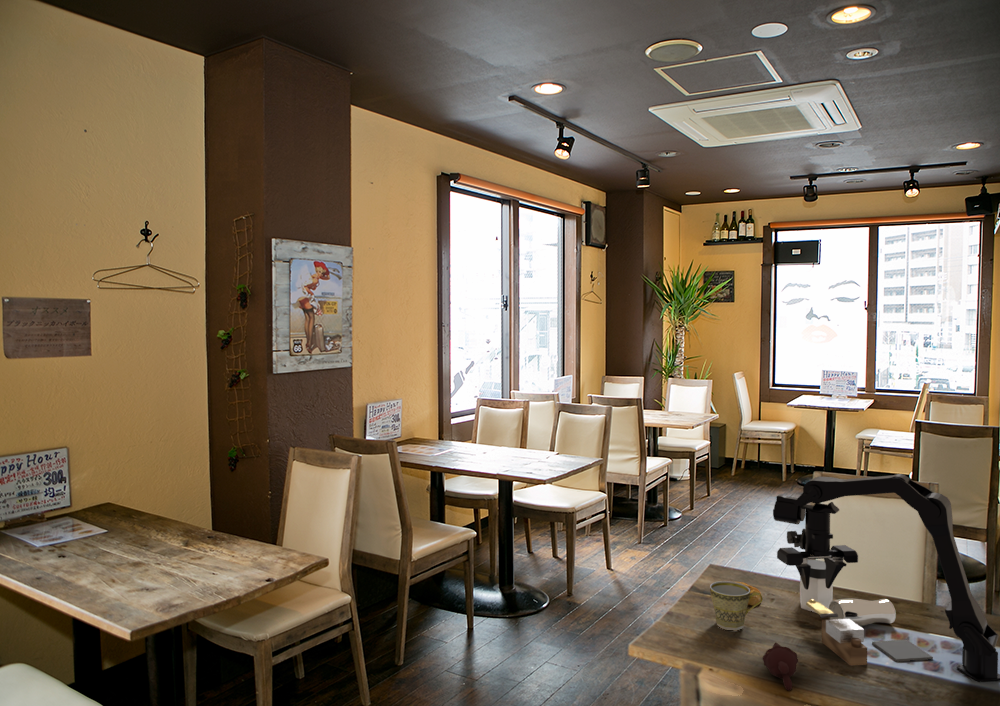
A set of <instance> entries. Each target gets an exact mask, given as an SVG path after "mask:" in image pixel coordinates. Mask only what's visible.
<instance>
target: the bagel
mask: <svg viewBox="0 0 1000 706" xmlns="http://www.w3.org/2000/svg"><path fill="white" fill-rule="evenodd" d="M735 582H736V583H740V584H743V585H745V586H747V587H748V588H749V589H750V594H751V593H753V592H758V593H760V594H761V596H762V597H763V595H762V592H761V591H760V590H759V589H758V588H757V587H753V586H752V585H750V584H747V583H746V582H743V581H741V582H740V581H735ZM760 600H761V597H760V596H759V595H754V596H752V597H751V599H750V600H749V602H748V605H747V606H753V605H755V604H756V603H758V602H759V601H760ZM758 605H760V604H758ZM758 605H757V606H758Z"/></svg>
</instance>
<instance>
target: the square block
mask: <svg viewBox="0 0 1000 706" xmlns="http://www.w3.org/2000/svg"><path fill="white" fill-rule="evenodd" d="M826 633H828V634H829V635H830V636H831V637H833V638H834V639H835V640H837V641H838V642H839V643H851V638H859V639H861V643H864V642H865V629H864V628H863V627H862V626H859V625H857V624H856V623H854V622H853V621H851V620H850V619H832V620H826Z"/></svg>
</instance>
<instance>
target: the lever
mask: <svg viewBox="0 0 1000 706" xmlns="http://www.w3.org/2000/svg"><path fill="white" fill-rule="evenodd" d="M806 605H807V606H808V607H810V608H811V609H812V610H814V611H815V612H816V613H815V612H814V613H815V614H817V615H819V617H820V618H821V619H827V618H828V619H829V618H830V617H838V614H837V613H833V612H832V611H831V610H829V609H828V608H826V607H825V606H824V605H822V604H821V603H819V602H816V601H815V600H814V599H810V600H809V601H808V602H806Z"/></svg>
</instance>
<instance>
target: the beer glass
mask: <svg viewBox="0 0 1000 706" xmlns="http://www.w3.org/2000/svg"><path fill="white" fill-rule="evenodd" d="M828 609H829V610H831V611H832V612H833V613H837V614H838V617H829V619H850V620H851V621H853V622H854V623H856V624H857V625H859V626H860V627H864V626H867V625H871V624H872V625H873V624H875V623H882V624H892V623H894V622H895V620H896V617H897V613H896V612H897V611H896V609H895V606H894V604H893V602H891V601H890V599H888V598H881V599H876V600H867V599H860V598H840V599H833V600H832V601H831V602H830V603H829V606H828Z"/></svg>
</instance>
